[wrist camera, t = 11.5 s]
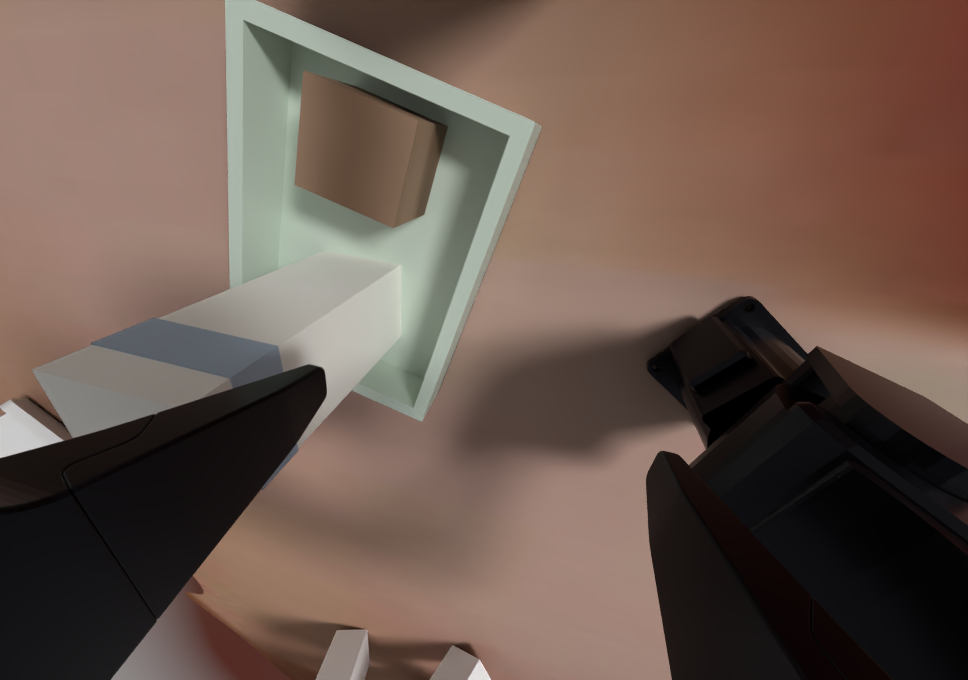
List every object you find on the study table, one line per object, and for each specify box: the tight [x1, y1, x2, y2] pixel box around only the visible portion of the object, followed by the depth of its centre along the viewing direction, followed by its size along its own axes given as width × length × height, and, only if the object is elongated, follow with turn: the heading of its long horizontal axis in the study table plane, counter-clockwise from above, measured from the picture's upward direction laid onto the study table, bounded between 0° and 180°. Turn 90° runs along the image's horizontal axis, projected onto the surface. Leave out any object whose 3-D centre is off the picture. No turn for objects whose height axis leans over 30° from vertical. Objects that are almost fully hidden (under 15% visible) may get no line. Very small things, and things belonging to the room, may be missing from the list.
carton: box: [31, 250, 401, 490], centre depth 17 cm, size 5×5×14 cm
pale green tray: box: [225, 0, 542, 422], centre depth 20 cm, size 14×18×4 cm
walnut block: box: [294, 70, 448, 228], centre depth 17 cm, size 5×4×4 cm
